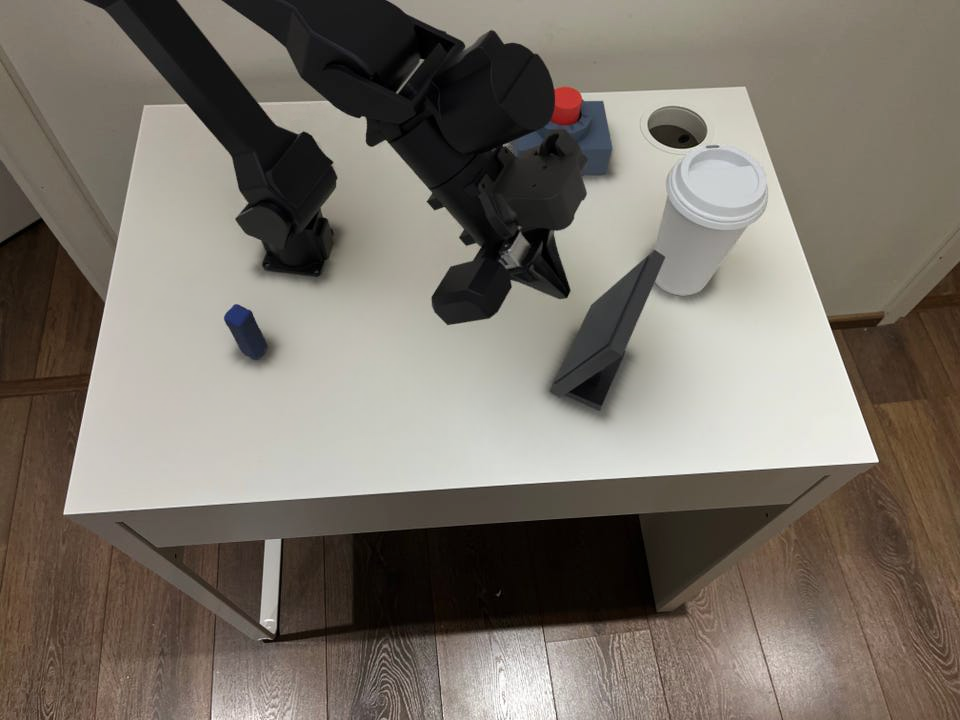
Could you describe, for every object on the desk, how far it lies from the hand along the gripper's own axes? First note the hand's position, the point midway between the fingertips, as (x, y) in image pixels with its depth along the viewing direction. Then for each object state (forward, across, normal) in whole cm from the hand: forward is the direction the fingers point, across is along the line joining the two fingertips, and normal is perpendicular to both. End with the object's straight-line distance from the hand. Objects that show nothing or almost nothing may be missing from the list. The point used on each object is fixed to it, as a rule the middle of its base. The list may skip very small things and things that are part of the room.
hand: (565, 295), depth 62 cm
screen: (+7, 0, +4) cm, 8 cm away
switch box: (0, +27, +15) cm, 31 cm away
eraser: (-11, -13, +28) cm, 32 cm away
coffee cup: (+14, +16, +2) cm, 22 cm away
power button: (-4, +27, +11) cm, 30 cm away
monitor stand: (+10, 0, +6) cm, 12 cm away
